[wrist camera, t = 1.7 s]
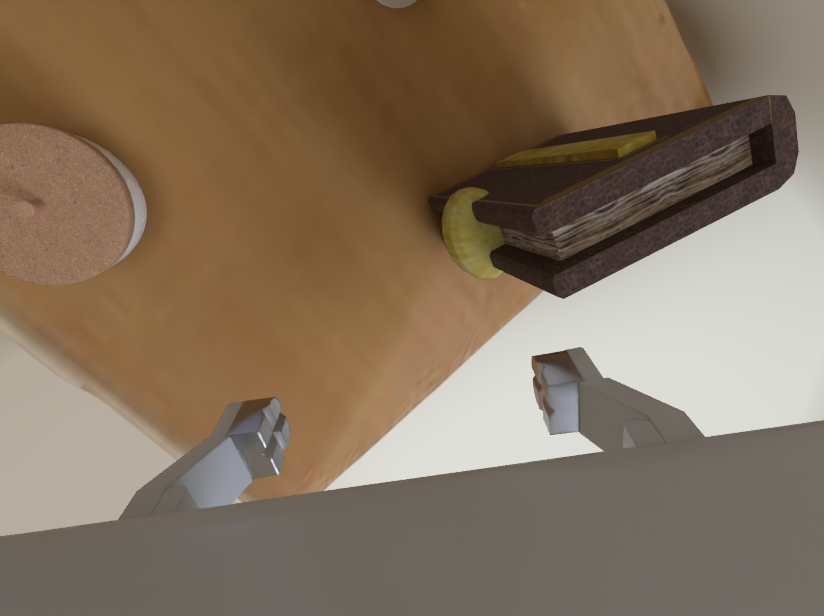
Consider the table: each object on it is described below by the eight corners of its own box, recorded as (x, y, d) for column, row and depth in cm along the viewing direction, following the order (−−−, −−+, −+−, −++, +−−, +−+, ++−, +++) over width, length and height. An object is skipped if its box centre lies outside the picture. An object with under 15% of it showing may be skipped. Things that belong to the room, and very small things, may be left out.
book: (569, 119, 51) (790, 65, 27) (588, 188, 54) (802, 192, 30) (401, 199, 49) (484, 214, 26) (430, 265, 52) (528, 333, 28)
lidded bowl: (138, 124, 42) (81, 104, 31) (182, 251, 46) (144, 272, 35) (-7, 146, 40) (-120, 134, 29) (52, 278, 44) (-29, 307, 33)
